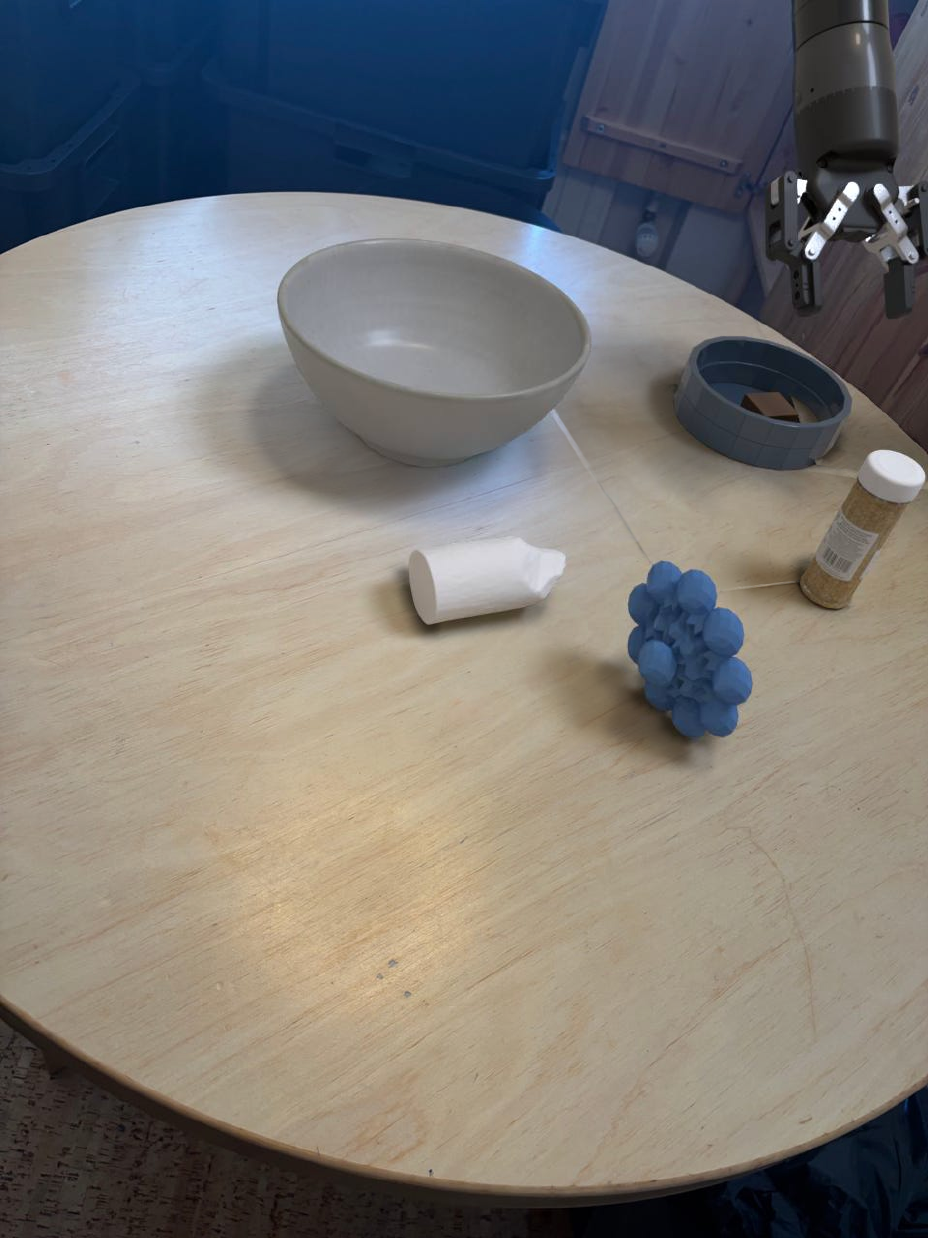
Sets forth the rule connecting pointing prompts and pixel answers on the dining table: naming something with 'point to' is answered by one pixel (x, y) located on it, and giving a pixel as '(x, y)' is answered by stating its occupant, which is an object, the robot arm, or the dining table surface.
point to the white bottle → (481, 577)
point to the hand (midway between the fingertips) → (855, 315)
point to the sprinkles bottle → (861, 527)
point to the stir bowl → (760, 367)
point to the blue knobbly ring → (688, 650)
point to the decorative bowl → (430, 345)
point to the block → (769, 406)
